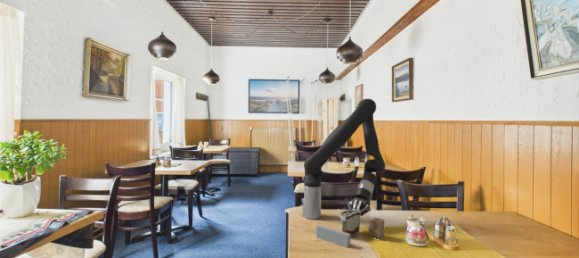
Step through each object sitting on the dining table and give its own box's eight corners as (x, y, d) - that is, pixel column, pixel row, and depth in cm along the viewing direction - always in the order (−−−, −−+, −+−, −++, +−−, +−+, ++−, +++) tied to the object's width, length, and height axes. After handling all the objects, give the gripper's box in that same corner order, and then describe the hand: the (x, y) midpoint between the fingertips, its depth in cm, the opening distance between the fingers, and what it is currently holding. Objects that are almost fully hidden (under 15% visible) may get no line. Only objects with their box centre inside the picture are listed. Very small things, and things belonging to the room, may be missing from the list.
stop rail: (316, 237, 134) (316, 226, 134) (319, 235, 136) (319, 225, 136) (347, 247, 124) (347, 235, 123) (350, 245, 125) (350, 234, 125)
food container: (350, 228, 145) (350, 207, 145) (361, 231, 141) (360, 210, 140) (334, 235, 137) (334, 214, 136) (345, 239, 132) (345, 217, 132)
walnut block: (368, 237, 135) (369, 219, 134) (374, 234, 138) (374, 217, 138) (379, 240, 131) (379, 222, 131) (384, 237, 135) (384, 219, 135)
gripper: (350, 185, 153) (337, 214, 144) (374, 189, 144) (362, 220, 135) (355, 193, 157) (343, 222, 148) (379, 197, 148) (367, 228, 139)
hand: (352, 221), depth 141 cm, fingers closed
